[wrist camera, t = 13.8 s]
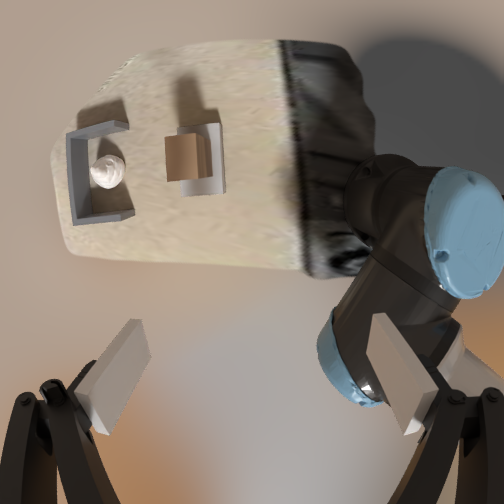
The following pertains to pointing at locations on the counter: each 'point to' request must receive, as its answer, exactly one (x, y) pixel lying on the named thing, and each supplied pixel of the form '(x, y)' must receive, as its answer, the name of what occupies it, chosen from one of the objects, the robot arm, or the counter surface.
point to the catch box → (80, 174)
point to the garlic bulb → (108, 171)
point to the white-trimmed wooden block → (196, 159)
